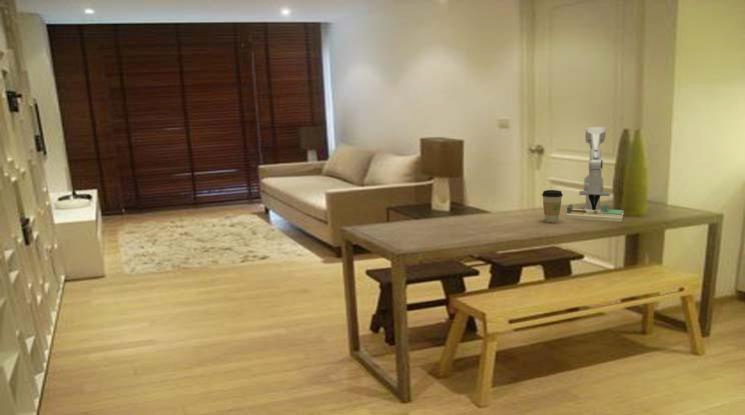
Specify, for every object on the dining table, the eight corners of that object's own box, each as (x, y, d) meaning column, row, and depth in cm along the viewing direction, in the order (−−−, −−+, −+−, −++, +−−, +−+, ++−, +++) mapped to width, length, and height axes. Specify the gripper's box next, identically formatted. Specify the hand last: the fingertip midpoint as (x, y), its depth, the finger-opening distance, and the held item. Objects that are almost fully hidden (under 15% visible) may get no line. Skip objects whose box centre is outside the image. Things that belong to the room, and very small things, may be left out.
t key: (569, 209, 319) (569, 204, 319) (586, 210, 316) (586, 205, 315) (567, 213, 311) (567, 207, 311) (584, 214, 308) (585, 208, 307)
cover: (603, 211, 311) (603, 203, 311) (622, 212, 308) (622, 204, 307) (601, 215, 303) (602, 206, 303) (621, 216, 300) (621, 207, 299)
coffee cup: (564, 223, 299) (565, 192, 296) (544, 223, 299) (544, 193, 296) (558, 218, 308) (559, 189, 306) (539, 219, 309) (539, 190, 306)
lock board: (570, 212, 323) (570, 206, 322) (623, 215, 312) (623, 209, 311) (566, 218, 308) (566, 212, 308) (621, 221, 298) (622, 215, 297)
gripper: (578, 183, 306) (577, 210, 308) (609, 184, 300) (608, 212, 302) (580, 181, 312) (579, 207, 315) (610, 182, 306) (609, 209, 308)
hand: (593, 209), depth 309 cm, fingers closed
